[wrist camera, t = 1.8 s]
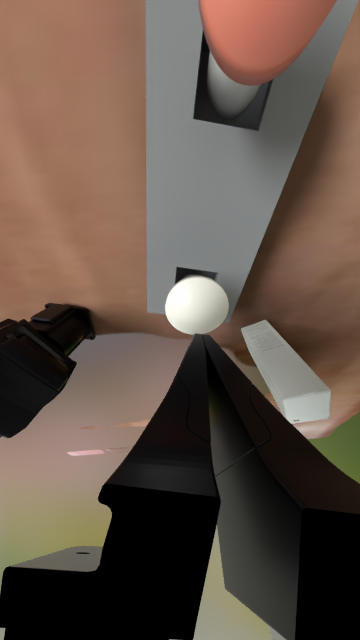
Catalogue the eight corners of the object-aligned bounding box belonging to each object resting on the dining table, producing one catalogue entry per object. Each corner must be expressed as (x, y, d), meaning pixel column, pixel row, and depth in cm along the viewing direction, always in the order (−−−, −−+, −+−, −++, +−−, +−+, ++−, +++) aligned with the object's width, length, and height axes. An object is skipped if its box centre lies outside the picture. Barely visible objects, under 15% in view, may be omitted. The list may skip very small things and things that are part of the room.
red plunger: (257, 146, 9) (315, 79, 5) (185, 133, 9) (184, 52, 5) (303, -12, 7) (507, -431, 2) (201, -35, 6) (231, -538, 2)
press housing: (220, 304, 21) (228, 322, 17) (155, 295, 20) (147, 312, 16) (301, 57, 10) (387, -71, 6) (163, 27, 9) (144, -135, 5)
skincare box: (272, 342, 25) (330, 419, 15) (248, 350, 26) (287, 425, 16) (266, 317, 22) (334, 391, 12) (239, 327, 23) (280, 401, 13)
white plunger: (210, 310, 16) (218, 337, 12) (169, 305, 16) (163, 330, 12) (222, 267, 14) (238, 284, 10) (173, 260, 14) (167, 274, 9)
